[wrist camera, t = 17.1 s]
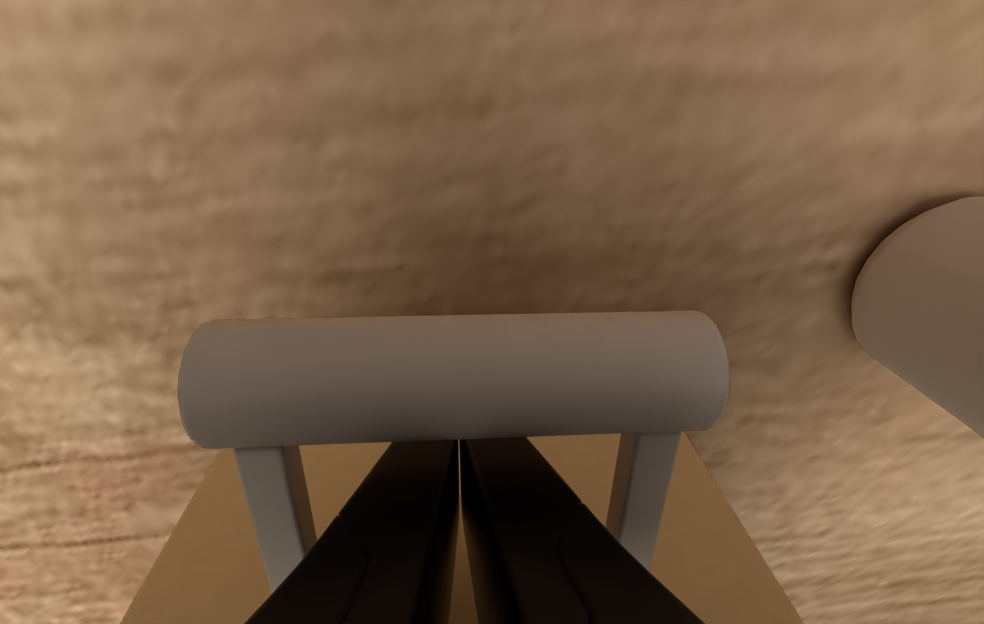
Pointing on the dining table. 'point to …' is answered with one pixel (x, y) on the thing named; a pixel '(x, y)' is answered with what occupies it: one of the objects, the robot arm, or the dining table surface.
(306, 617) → the robot arm
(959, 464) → the dining table surface
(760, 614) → the drawer
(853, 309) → the beverage can
